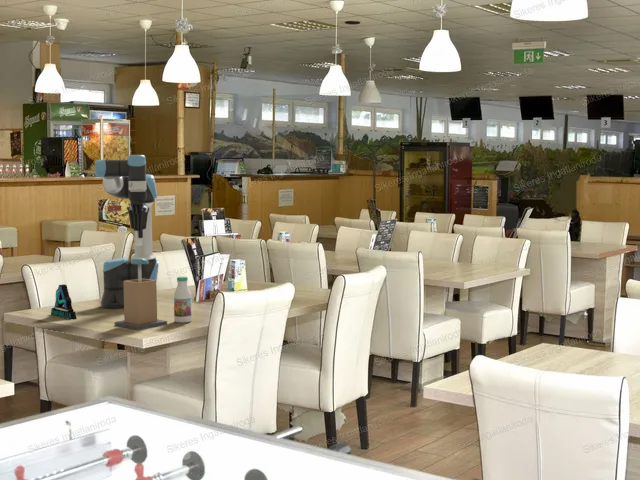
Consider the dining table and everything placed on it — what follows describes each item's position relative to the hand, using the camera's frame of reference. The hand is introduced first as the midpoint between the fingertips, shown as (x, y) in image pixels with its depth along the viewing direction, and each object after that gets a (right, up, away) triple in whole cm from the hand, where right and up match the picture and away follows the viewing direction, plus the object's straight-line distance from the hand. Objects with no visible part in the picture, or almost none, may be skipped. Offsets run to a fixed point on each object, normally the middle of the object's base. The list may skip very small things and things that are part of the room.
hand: (138, 245), depth 387 cm
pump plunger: (+1, -25, +2) cm, 25 cm away
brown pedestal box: (0, -35, +4) cm, 35 cm away
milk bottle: (+17, -34, +11) cm, 40 cm away
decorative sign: (-40, -33, +25) cm, 57 cm away
